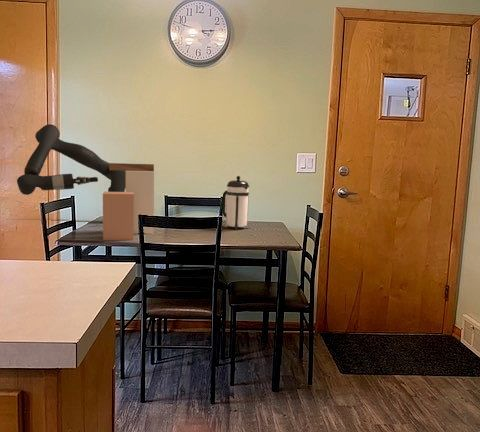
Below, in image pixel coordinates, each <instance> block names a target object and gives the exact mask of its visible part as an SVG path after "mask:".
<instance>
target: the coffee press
mask: <svg viewBox="0 0 480 432" xmlns="http://www.w3.org/2000/svg"><path fill="white" fill-rule="evenodd" d="M235 179H236V180H234V179H233V180H230V181H228V183H227V184H226V188H227V190H225V191H224V192H223V194H222V198H221V213H222V215H223V217H224V218H225V223H224V225H225V226H223V228H225V229H227V227H232V228H234V231H238V228H246V229H250V226H249V223H248V218H249V217H248V214H249V195H250V192H249V188H250V185H249V183H248V182H247V181H246V180H241V176H240V175H237V176H236V178H235ZM247 226H248V227H247Z"/></svg>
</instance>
